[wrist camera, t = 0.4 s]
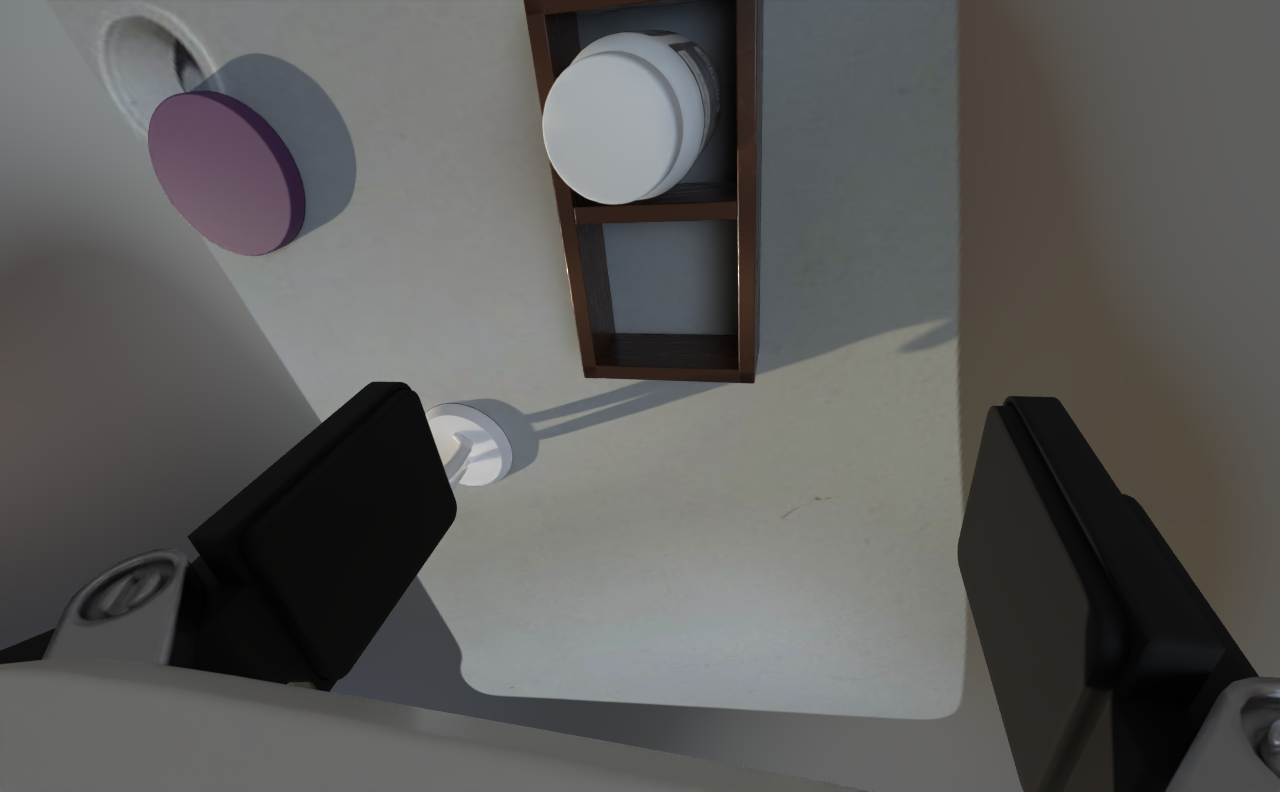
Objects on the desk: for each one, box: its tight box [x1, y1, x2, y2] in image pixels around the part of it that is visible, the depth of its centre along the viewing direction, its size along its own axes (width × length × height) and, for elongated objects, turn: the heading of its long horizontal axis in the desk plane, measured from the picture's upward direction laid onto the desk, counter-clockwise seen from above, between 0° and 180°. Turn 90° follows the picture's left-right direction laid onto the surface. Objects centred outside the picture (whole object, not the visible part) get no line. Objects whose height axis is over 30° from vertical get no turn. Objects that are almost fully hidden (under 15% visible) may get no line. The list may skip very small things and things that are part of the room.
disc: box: [148, 91, 305, 256], centre depth 35 cm, size 9×9×1 cm
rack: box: [524, 0, 764, 383], centre depth 28 cm, size 17×9×4 cm, turn 5°
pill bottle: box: [542, 30, 721, 204], centre depth 24 cm, size 6×6×10 cm
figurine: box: [425, 404, 513, 489], centre depth 38 cm, size 7×7×12 cm
